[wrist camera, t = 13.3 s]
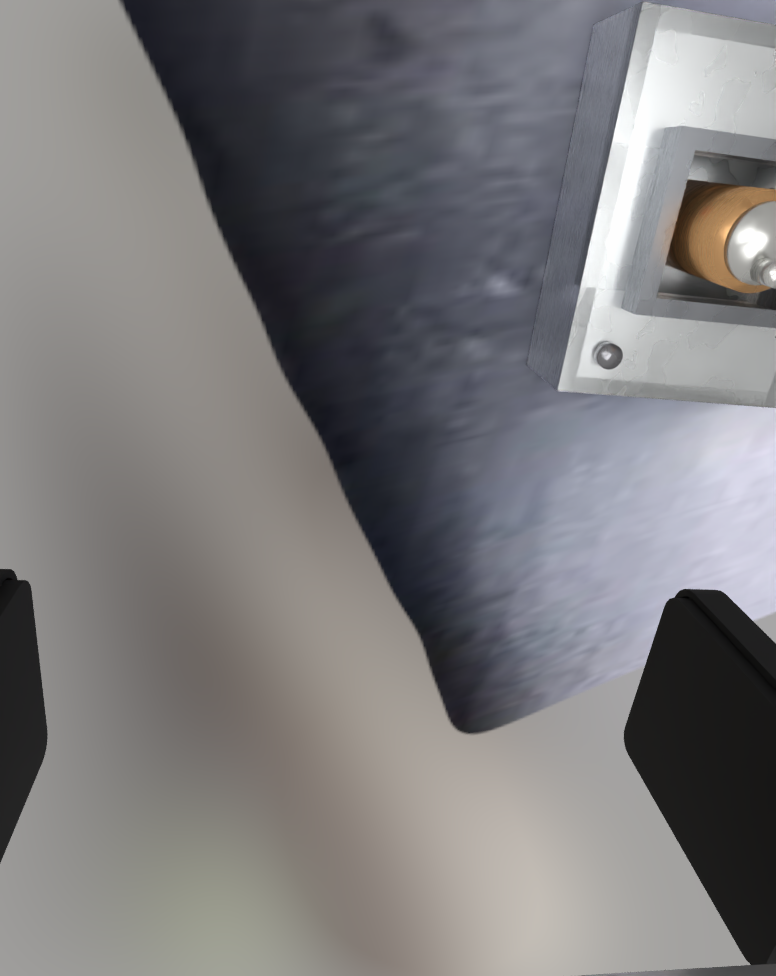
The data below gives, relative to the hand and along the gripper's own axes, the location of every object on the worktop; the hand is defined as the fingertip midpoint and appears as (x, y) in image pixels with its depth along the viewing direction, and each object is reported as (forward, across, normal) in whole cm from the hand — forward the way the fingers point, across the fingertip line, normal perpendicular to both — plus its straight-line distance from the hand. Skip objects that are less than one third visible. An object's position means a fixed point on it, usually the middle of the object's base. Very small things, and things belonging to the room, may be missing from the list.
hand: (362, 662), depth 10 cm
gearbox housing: (+28, -18, -6) cm, 34 cm away
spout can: (+27, -18, -6) cm, 33 cm away
